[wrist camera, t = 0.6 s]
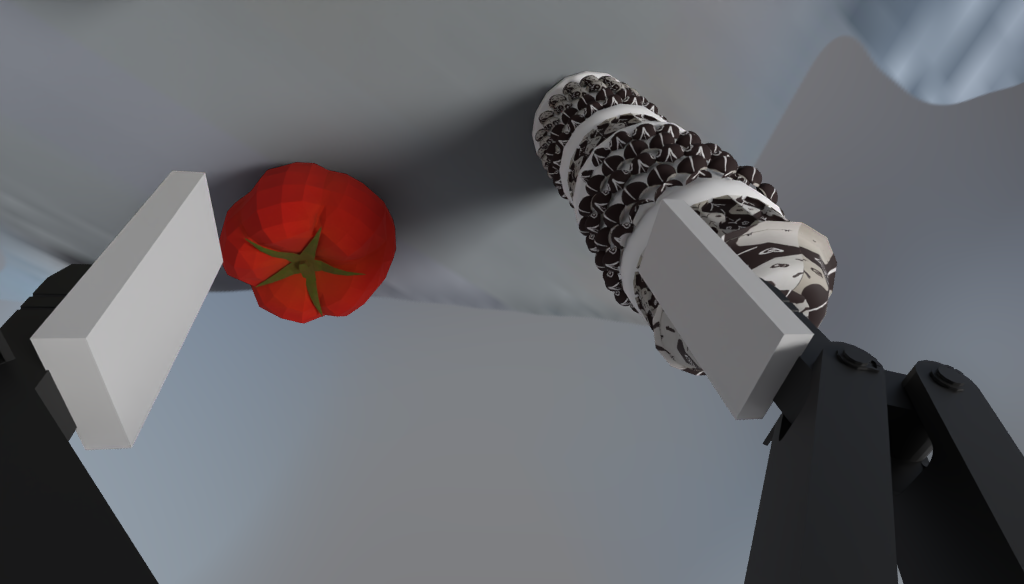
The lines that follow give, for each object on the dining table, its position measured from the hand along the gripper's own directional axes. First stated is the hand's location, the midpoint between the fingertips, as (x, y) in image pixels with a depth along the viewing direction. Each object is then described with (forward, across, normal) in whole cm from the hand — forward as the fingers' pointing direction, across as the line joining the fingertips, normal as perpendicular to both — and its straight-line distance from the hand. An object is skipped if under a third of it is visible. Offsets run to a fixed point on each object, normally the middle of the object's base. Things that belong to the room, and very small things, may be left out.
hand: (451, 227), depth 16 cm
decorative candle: (+25, +13, -4) cm, 29 cm away
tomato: (+25, -7, -13) cm, 29 cm away
